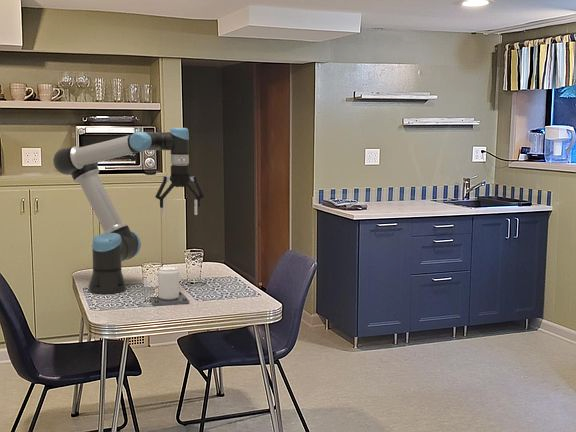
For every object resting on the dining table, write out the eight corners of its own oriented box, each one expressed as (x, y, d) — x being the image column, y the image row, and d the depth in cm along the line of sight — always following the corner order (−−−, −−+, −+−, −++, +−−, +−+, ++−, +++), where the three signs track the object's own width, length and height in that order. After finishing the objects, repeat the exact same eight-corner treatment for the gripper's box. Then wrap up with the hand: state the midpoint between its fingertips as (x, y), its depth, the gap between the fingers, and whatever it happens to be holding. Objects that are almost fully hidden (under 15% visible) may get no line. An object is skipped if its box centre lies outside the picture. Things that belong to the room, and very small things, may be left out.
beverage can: (169, 294, 284) (169, 265, 283) (183, 298, 279) (183, 268, 277) (153, 298, 278) (153, 268, 276) (167, 301, 273) (167, 271, 271)
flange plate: (153, 306, 270) (153, 295, 270) (147, 297, 283) (147, 288, 283) (189, 303, 275) (189, 293, 274) (182, 295, 288) (182, 286, 287)
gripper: (150, 165, 287) (151, 216, 289) (210, 165, 295) (210, 215, 297) (148, 164, 294) (148, 214, 296) (207, 164, 302) (207, 213, 304)
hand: (179, 215), depth 297 cm, fingers open, 13 cm apart
